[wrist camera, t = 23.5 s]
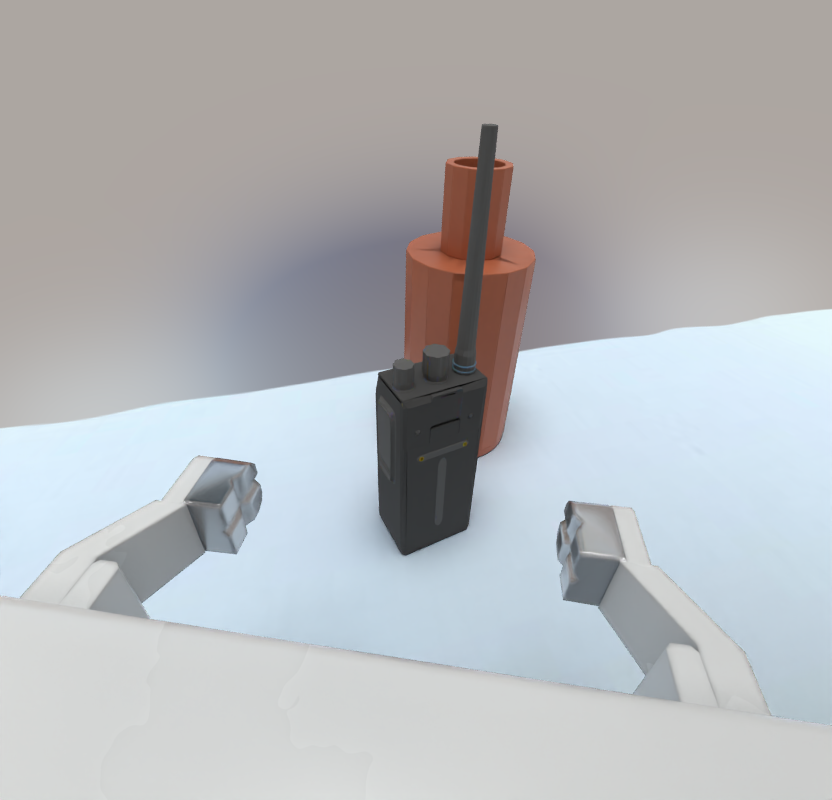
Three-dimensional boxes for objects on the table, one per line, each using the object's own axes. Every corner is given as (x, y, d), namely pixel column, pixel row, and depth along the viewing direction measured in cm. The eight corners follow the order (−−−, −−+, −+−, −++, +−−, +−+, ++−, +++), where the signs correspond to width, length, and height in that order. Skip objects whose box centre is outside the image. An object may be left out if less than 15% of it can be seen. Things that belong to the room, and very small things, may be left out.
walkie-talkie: (443, 487, 29) (477, 117, 17) (472, 526, 27) (535, 129, 15) (372, 514, 27) (358, 120, 16) (397, 558, 25) (402, 134, 13)
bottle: (501, 402, 37) (544, 154, 26) (503, 466, 31) (559, 181, 21) (411, 392, 37) (418, 147, 27) (396, 453, 32) (398, 172, 21)
